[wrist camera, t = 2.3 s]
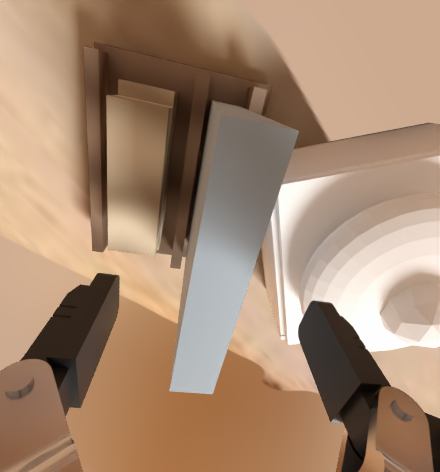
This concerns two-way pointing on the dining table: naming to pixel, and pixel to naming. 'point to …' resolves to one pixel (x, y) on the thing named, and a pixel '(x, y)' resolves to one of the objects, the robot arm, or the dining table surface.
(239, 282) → the grey board
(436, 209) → the butter dish
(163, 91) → the offcut lower
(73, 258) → the dining table surface
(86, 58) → the walnut rack
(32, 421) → the robot arm
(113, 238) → the offcut upper
